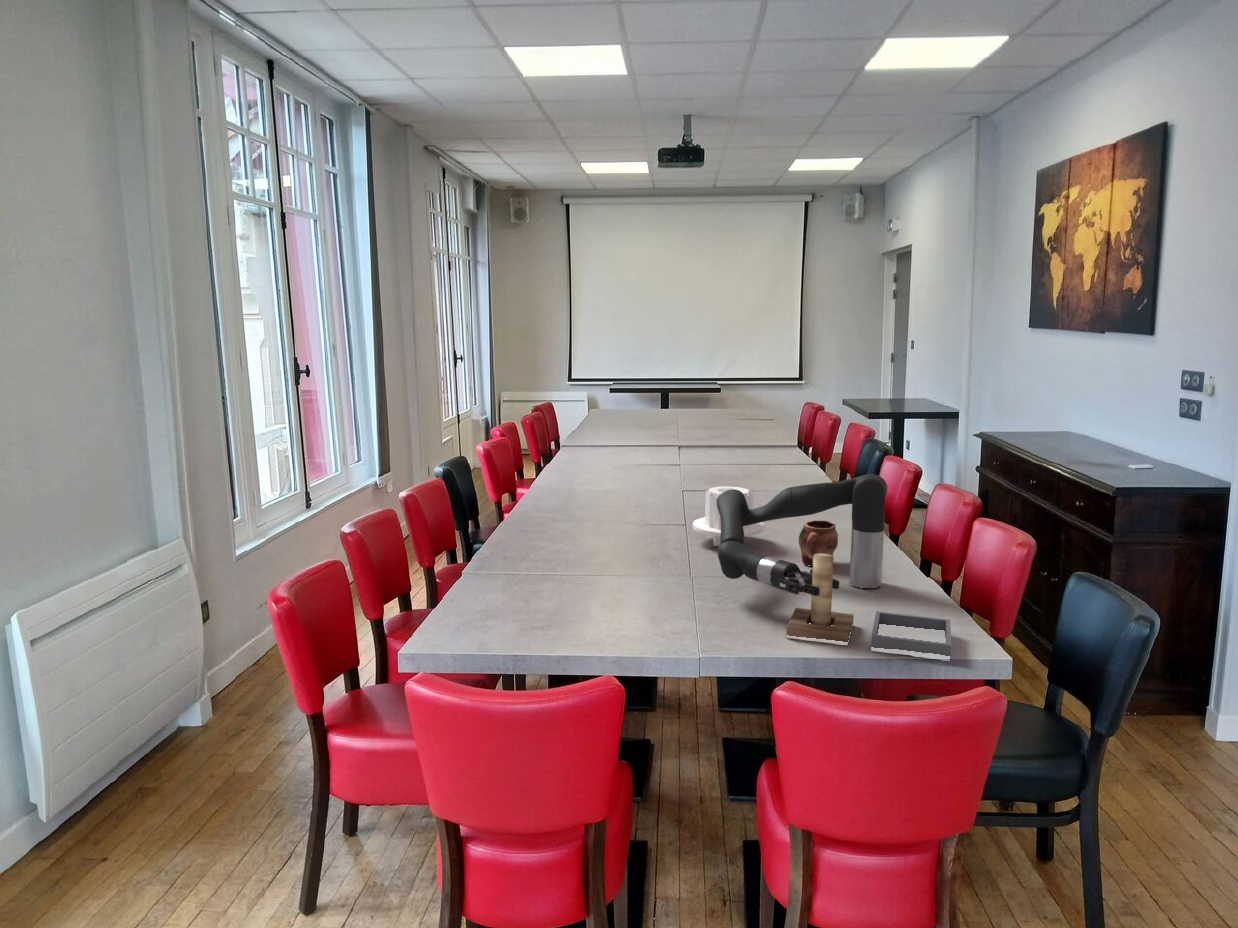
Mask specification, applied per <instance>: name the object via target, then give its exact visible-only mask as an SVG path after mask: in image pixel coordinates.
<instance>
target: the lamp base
mask: <svg viewBox="0 0 1238 928" xmlns="http://www.w3.org/2000/svg"><path fill="white" fill-rule="evenodd" d="M733 489H735V490H739V491H741V492H742V493H743V494H744V496H745V498H746V502H747V505H748V508H749V509H754V507H753V506H754V505H753V503H754V494H753V492H752V490H749V488H744V487H740V486H729V485H728V486H725V485H724V486H714V487H709V488H708V489H707V490H706V491H705V493H704V494H705V495H704V496H705V497H704V498H705V499H704V500H705V501H704V503H705V504H704V516H703V517H699V518H697V519H694V520H693V522H692V529H693V530H694V531H696V532H698V533H700V534H704V535H709V536H712V537H713V539H712V540H713V546H714V547H719V546H720V537H721V519H720V514H719V511H718V508H717V498H718V497H719V495H720V494H722V493H723V492H725V491H728V490H733ZM743 530H744V537H750V536H755V535H759V534H761V533H763V532H764V530H765V524H764V522H760V523H756V524H752V525H747V526H743Z"/></svg>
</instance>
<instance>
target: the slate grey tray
mask: <svg viewBox="0 0 1238 928" xmlns="http://www.w3.org/2000/svg"><path fill="white" fill-rule="evenodd" d="M879 624H886V625H896V626H905V627H914V628H924V629H935V630H944V631H945V638H946V643H939V642H931V641H923V640H915V639H907V638H898V637H890V636H882V635H877V634H878V629H879ZM872 626H873V627H872V632H871V641H870V642H871V643H870V648H871V647H874V648H884V649H899V650H907V651H915V652H922V653H933V654H940V655H945V656H951V657H952V633H951V631H952V630H951V629H952V627H951V619H949V618H940V617H930V616H923V615H921V616H920V615H913V614H912V615H911V614H903V613H897V612H896V613H895V612H894V613H893V612H886V611H877V610H876V611H875V615H874V621H873V625H872Z"/></svg>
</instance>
